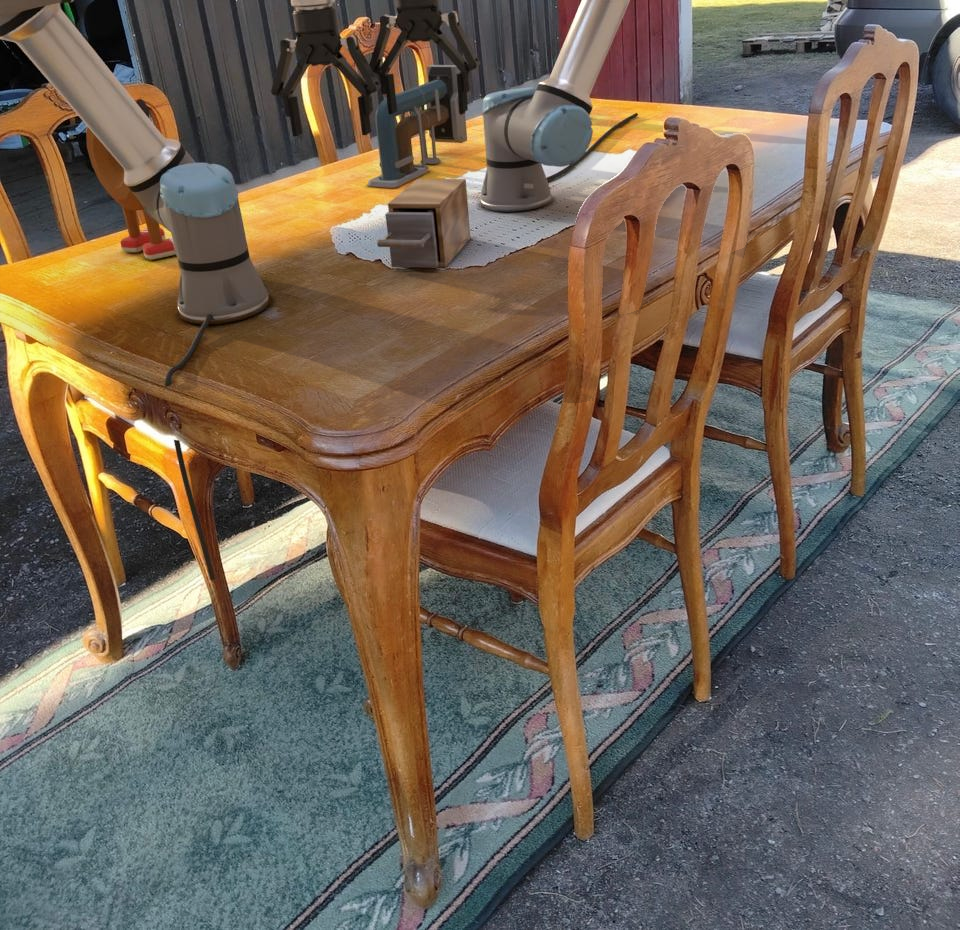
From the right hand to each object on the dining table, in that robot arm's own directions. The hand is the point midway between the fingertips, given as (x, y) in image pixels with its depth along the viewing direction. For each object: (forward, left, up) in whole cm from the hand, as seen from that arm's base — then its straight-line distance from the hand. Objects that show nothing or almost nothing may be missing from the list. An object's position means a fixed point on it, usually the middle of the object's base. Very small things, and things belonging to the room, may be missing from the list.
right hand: (428, 112), depth 176 cm
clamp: (-50, -37, -25) cm, 67 cm away
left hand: (+9, -15, -3) cm, 18 cm away
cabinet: (+4, +1, -25) cm, 25 cm away
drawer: (+11, +3, -24) cm, 26 cm away
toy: (+21, -56, -25) cm, 65 cm away
